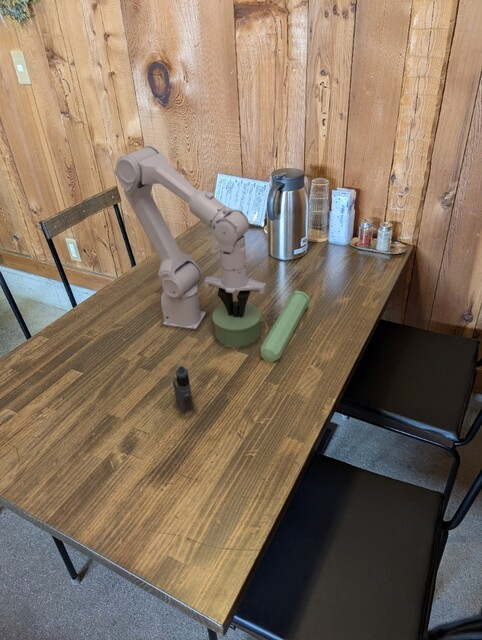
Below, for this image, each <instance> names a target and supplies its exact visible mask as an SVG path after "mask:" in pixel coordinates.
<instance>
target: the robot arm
mask: <svg viewBox="0 0 482 640" xmlns="http://www.w3.org/2000/svg"><path fill="white" fill-rule="evenodd" d="M114 174H115V176H116V178H117V180H118V181H119V184H120V186H121V187H122V189H123V193H124V196H125V198H126V200H127V201H128V203H129V205H130V207H131V209H132V212H133V213H134V214H135V216H136V219H137V220H138V222H139V224H140V226H141V227H142V229H143V231H144V233H145V236H146V237H147V238H148V240H149V242H150V244H151V246H152V248H153V250H154V252H155V253H156V255H157V257H158V259H159V261H160V265H159V268H158V273H157V275H158V277H159V279H160V282H161V288H162V290H163V291H162V293H161V297H160V307H161V312H162V318H163V322H162V326H174V327H179V328H187V329H194V330H195V329H197V328H198V326H199V325H200V323H201V321H202V320H203V318H204V317H205V315H206V313H207V312H206V311H202V310H201V307H200V299H199V289H198V288H199V282H200V281H201V280H202V277H203V273H202V269H201V268H200V266H199V265H198V264H197V263H196V262H195V261H194V260H193V258H192V256H191V255H190V254H187V253H184V252H182V251H181V250H180V248H179V246H178V244H177V242H176V239H175V237H174V236H173V234H172V232H171V230H170V228H169V226H168V224H167V222H166V220H165V219H164V216H163V215H162V213H161V211H160V209H159V207H158V205H157V203H156V201H155V200H154V197H153V195H152V189H153V185H156V184H158V185H160V186H163V187H164V188H165V189H166V190H168V191H170V192H171V193H172V194H174V195H176V196H177V197H178V198H180V199H181V200H183V201H184V202H186V204H188V207H189V212H190V213H191V214H193V215H194V217H196V218H197V219H199V220H200V221H201V222H203V224H205V225H206V226H207V227H209V229H211V230H212V234H213V237H214V238H215V240H216V241H217V244H218V249H219V256H220V268H221V269H220V270H221V275H220V276H206V277H205V279H204V281H203V283H204V288H206V289H207V288H208V289H209V288H210V287H211V288H218V291H217V297H218V298H219V299H220V301H221V302H222V303H223V305H225V307H226V309H227V312H228V315H229V316H231V315H232V305H231V303H232V302H234V293H235V292H238V293H237V295H236V299H237V300H236V301H238V304H239V316H240V317H243V315H244V313H245V306H246V303H248V299H249V297H250V294H251V292H253V293H259V295H265V292H266V291H267V290H266V286H267V285H266V282H260V281H258V280H254V279H252V278H249V277H247V255H246V254H247V253H246V235H245V234H246V233H247V232H248V231H249V229H250V221H249V218H248V217H247V215H245V213H244V212H243V211H242V210H240V209H238V208H237V209H236V208H235V209H233V208H231V207H229V206H226V205H225V204H223V202H221V201H220V200H219V199H217V198H216V197H215V194H214V193H213V192H211V191H208V190H205V189H204V190H198V189H197V188H196V187H194V185H192V184H191V182H189V181H188V180H187V179H186V178H185V177H184V176H182V175H181V174H180V172H178V171H177V170H176V169H175V168H174V167H173V166H172V165H171V164H170V163H169V162H168V159H167V157H166V155H165V154H164V153H162V152H160V151H159V149H158V148H156V147H155V146H153V145H147V146H144V147H143V148H141V149H138V150H136V151H133V152H131V153H127V154H124V155H121V156H119V157H118V159H117V161H116V163H115V169H114Z"/></svg>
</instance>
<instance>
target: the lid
mask: <svg viewBox="0 0 482 640" xmlns="http://www.w3.org/2000/svg"><path fill="white" fill-rule="evenodd" d="M231 305H232V315H231V316H229V315H228V312H227V309H226V307H225V305H224V304H221V305H219V306H218V307H216V309H215V310H214V311H213V313H212V317H211V318H212V322H213V324H214V323H215V325H216V326H218V327H219V328H222V329H224V330H229V331H241V330H246V329H249V328H251V327H253V326H255V325H256V324H257V323H258V322H259V321H260V322H261V319H262V312H261V310H260V309H259V308H258V306H256V305H254V304H252V303H250V302H247V303H246V306H245V313H244V315H243V317H240V316H239V304H238V300H233V302H232V303H231ZM215 325H214V326H215Z"/></svg>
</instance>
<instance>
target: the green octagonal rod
mask: <svg viewBox="0 0 482 640" xmlns="http://www.w3.org/2000/svg"><path fill="white" fill-rule="evenodd" d="M310 299H311V298H310V297H309V296H308V295H307V294H306V292H305V291H301V290H294V291H293V292H291V293H290V294H289V295H288V300H287V301H286V302H287V303H286V304H285V305H284V308H283V309H282V311H281V312H280V314H279V316H278V318H277V320H275V322H274V324H273V326H272V327H271V329H270V331H269V333H268V335H266V338H265V339H264V341H263V343H262V344H261V346H260V357H261V358H262V359H263V360H264V361H265V362H268V363H274V362H275V361H277V360H279V359H280V358H281V356H282V354H283V353H284V350H285V349H286V347H287V345H288V343H289V341H290V339H291V337H292V335H293V333H294V332H295V330H296V328H297V326H298V324H299V323H300V321H301V319H302V316H303V314H304V313H305V311H306V309H307V308H309V307H310Z"/></svg>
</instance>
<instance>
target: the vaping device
mask: <svg viewBox="0 0 482 640" xmlns="http://www.w3.org/2000/svg"><path fill="white" fill-rule="evenodd" d="M172 384H173V390H174V396H175V401H176V403H177V405H178V407H179V409H180V411H181V413H182V414H183V415H186V414H190V413H192V412H194V410H195V408H194V403H193V395H192V388H191V384H190V377H189V370H188V369H187V368H185V367H184V366H182V365H181V366H179V367H178V368H177V369H176V370H175V372H174V374H173V378H172Z"/></svg>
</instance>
